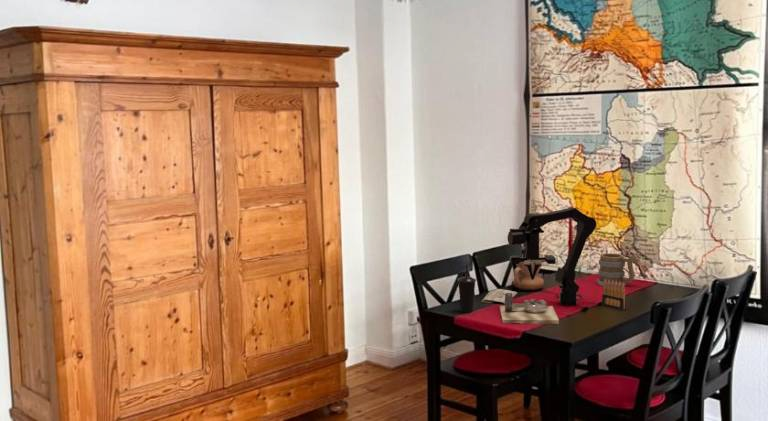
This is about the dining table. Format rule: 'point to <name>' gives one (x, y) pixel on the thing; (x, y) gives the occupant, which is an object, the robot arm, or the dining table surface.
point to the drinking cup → (466, 292)
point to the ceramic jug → (526, 278)
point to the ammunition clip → (614, 295)
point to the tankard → (615, 268)
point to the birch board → (529, 316)
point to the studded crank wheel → (525, 304)
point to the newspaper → (497, 296)
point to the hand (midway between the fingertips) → (532, 279)
